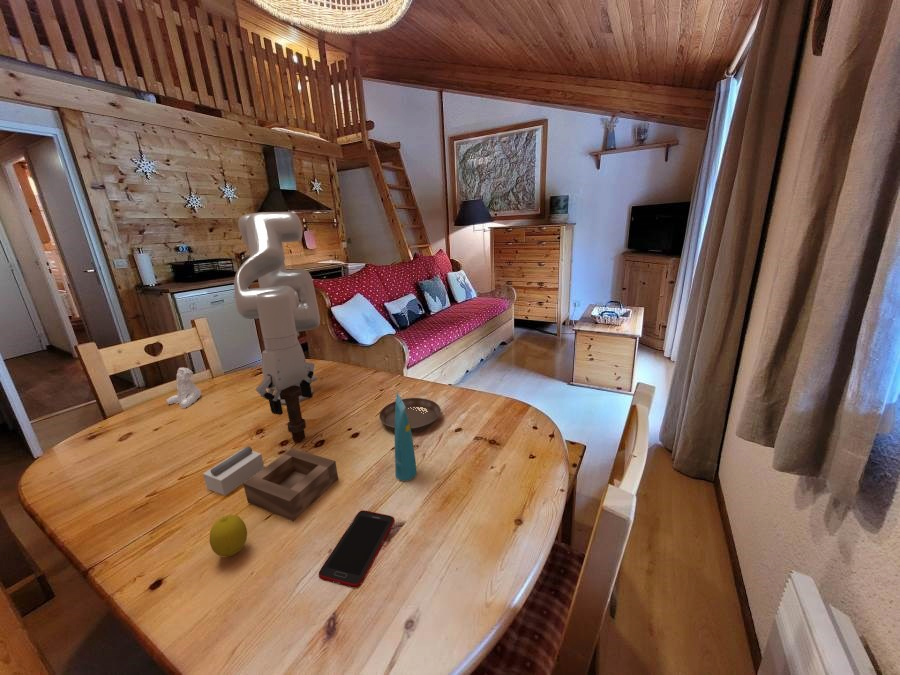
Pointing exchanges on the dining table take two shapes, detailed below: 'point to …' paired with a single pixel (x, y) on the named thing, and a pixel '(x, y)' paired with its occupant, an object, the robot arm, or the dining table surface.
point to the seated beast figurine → (185, 389)
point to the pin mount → (233, 471)
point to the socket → (291, 483)
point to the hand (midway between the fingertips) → (292, 404)
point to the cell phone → (357, 549)
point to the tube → (403, 444)
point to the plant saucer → (412, 414)
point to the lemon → (228, 535)
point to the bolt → (294, 412)
